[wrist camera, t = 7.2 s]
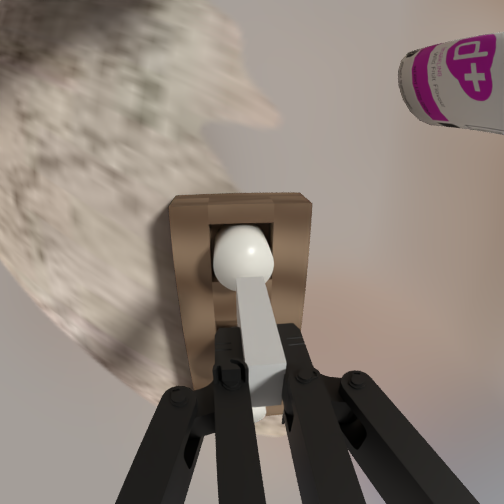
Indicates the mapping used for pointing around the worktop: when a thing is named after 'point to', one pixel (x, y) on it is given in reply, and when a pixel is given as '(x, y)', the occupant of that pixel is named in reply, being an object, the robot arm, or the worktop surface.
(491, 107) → the supplement can
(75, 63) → the worktop surface
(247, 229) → the white round piece
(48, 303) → the worktop surface
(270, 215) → the button panel
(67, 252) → the worktop surface
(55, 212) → the worktop surface
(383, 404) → the robot arm
